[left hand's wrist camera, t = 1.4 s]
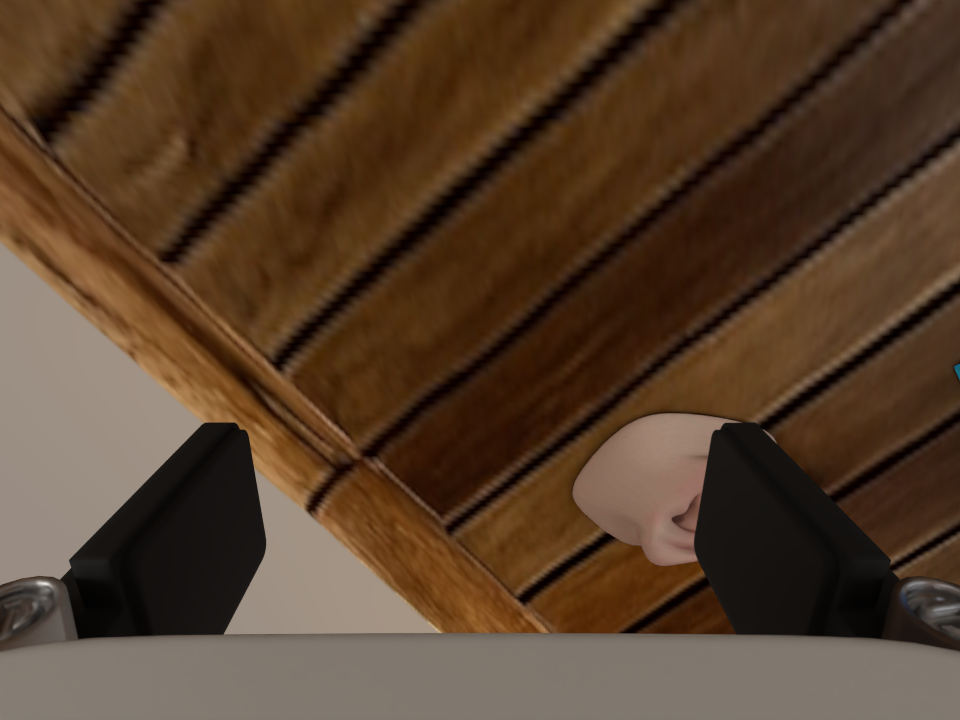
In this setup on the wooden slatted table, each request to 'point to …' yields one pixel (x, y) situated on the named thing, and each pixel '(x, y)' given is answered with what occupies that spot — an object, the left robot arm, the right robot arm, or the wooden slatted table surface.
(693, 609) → the wooden slatted table surface
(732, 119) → the wooden slatted table surface
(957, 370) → the model building
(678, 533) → the anatomical model
